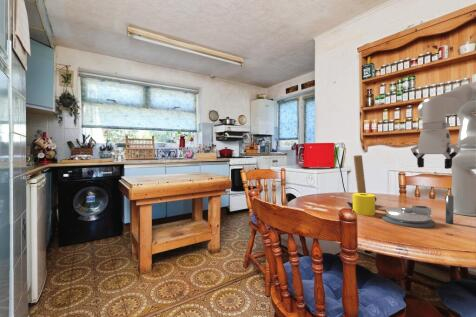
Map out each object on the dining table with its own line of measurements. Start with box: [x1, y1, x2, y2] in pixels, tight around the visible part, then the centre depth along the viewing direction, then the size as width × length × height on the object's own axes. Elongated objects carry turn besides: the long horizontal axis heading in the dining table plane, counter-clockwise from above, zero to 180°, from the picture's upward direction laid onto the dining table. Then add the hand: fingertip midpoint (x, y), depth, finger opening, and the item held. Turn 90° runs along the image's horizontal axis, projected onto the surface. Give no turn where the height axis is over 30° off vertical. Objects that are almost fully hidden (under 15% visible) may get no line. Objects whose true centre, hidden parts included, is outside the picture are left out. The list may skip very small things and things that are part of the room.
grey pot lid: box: [385, 204, 432, 224], centre depth 104 cm, size 16×16×6 cm
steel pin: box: [445, 194, 454, 225], centre depth 100 cm, size 2×2×12 cm
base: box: [381, 213, 436, 229], centre depth 104 cm, size 19×19×1 cm
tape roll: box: [352, 192, 376, 217], centre depth 118 cm, size 10×10×9 cm
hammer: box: [346, 154, 378, 209], centre depth 130 cm, size 20×5×30 cm, turn 120°
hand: (433, 167), depth 98 cm, fingers open, 9 cm apart
